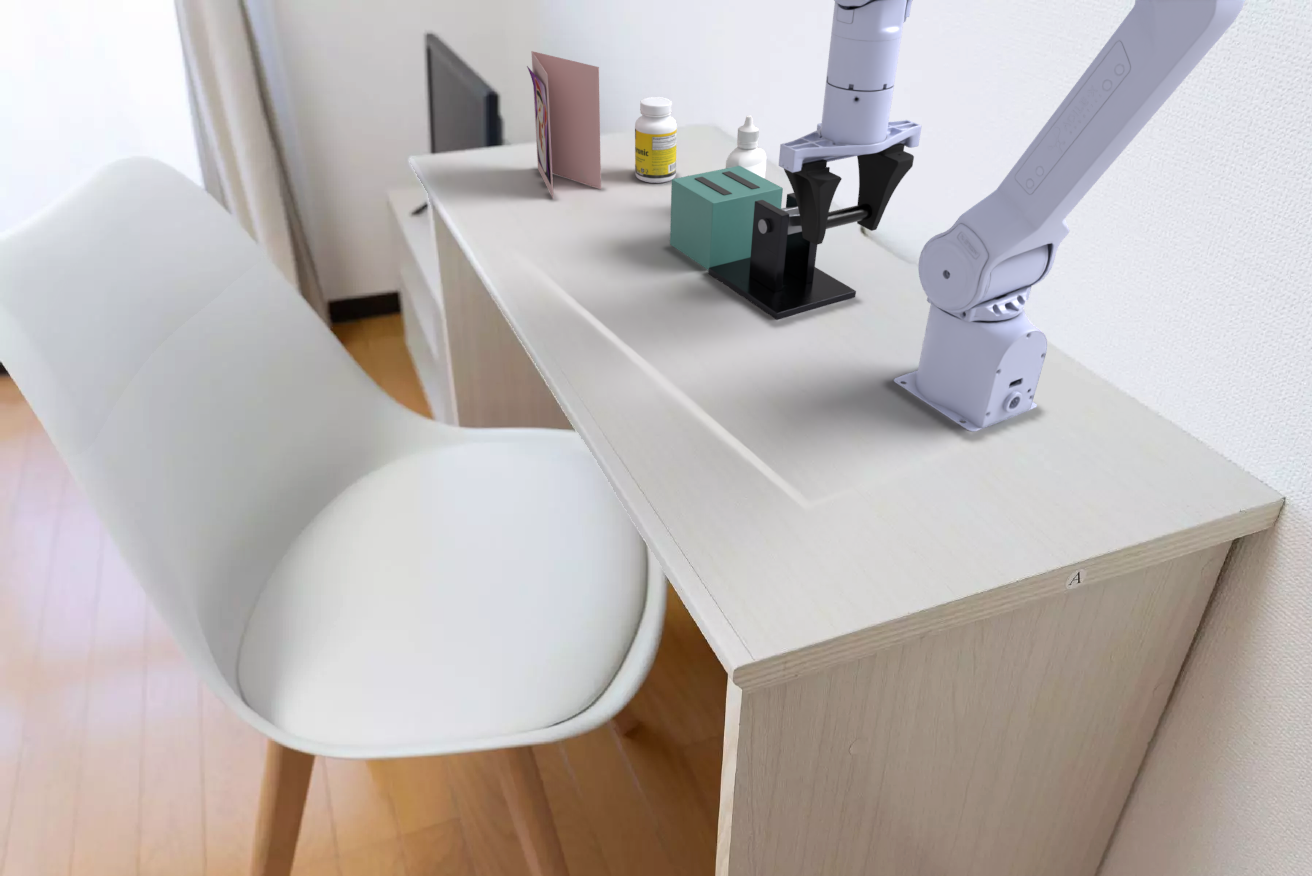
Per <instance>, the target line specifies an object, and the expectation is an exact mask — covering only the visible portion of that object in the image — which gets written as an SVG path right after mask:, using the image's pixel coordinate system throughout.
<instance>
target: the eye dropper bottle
mask: <svg viewBox="0 0 1312 876" xmlns="http://www.w3.org/2000/svg"><path fill="white" fill-rule="evenodd" d="M736 137H737V138H736V147H735V148H734V149H733V150H732V151H731V152H730V153H729V155H728V156H727V158H726V160H725V168H724V169H726V168H731V167H736V166H741V167H743V168H745V169H747V170H749V171H751V172H753V173H755V174H757V175H759V176H761V177H763V178H764V179H766V172H767V171H766V169H767V153H766V151H765V150H764V149H763V148H761V147H760V146H759V139H760V138H759V137H760V128H759V127H757V126H755V125H754V118H753V115H746V116H745V120H744V124H743V125H741V126H739V127H738V128H737V136H736Z"/></svg>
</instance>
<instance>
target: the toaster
mask: <svg viewBox="0 0 1312 876" xmlns="http://www.w3.org/2000/svg"><path fill="white" fill-rule="evenodd" d="M725 168H726V167H725ZM725 168H721V169H716V170H711V171H706V172H701V173H700V172H699V173H696V174H691V175H687V176H686V175H685V176H680V177H674V178H673V179H672V180H671V185H670V186H671V189H670V193H671V194H670V196H671V197H670V226H669V227H670V228H669V229H670V231H669V232H670V233H669V245H670V246H672V247H673V248H675V249H676V250H678V251H679V252H681V253H682V254H684V255H685V256H687V257H688V258H690V259H691V260H692V261H694V262H695V263H697V264H698V265H700V266H701V267H703V268H705V269H706V270H707V271H709V267H713V266H717V265H721V264H725V263H729V262H733V261H737V260H741V259H745V258H749V257H751V245H752V231H753V218H754V205H755V201H758V200H764V201H766V202H768V203H770V204H772V205H774V206H775V207H777V208H779V209H781V208H782V205H783V204H782V203H783V193H784V192H783V191H784V188H783V187H782V186H780V185H778V184H776V183H774V182H773V181H770V180H768V179H767V178H765V179H764V178H763V177H761V176H759V175H757V174H755V173H753V172H751V171H749V170H747V169H745V168H743V167H741V166H736V167H731V168H726V169H725Z"/></svg>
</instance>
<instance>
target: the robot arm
mask: <svg viewBox="0 0 1312 876" xmlns="http://www.w3.org/2000/svg"><path fill="white" fill-rule="evenodd" d="M833 1H834V4H833V5H834V6H833V14H832V23H831V31H830V32H831V33H830V42H829V51H828V59H827V60H828V61H827V67H826V68H827V69H826V70H827V71H826V78H825V86H824V87H825V89H824V97H823V105H822V106H823V107H822V114H821V122H819V123H817V125H816V130H815V131H812V132H810V133H808V134H805V135H804V136H801V137H799V138H797V139H794V140H792V141H788V142H784V143H780V145H779V156H778V167H780V168H782V169H783V171H784V173H785V175H786V177H787V179H788V181H789V183H790V186H791V188H792V191H793V193H794V194H795V197H796V201H797V205H798V209H799V214H800V220H801V227H802V235H803V238H804V239H806V240H808V241H810V242H811V243H813V244H815V245H817V246H818V245H822V244H823V242H824V239H825V236H826V231H827V229H826V226H827V220H828V214H829V212H830V209H831V205H832V201H833V200H834V196H835V193H836V191H837V189H838V187H839V186H840V185H839V184H840V183H841V182H842V180H843V178H842V177H841V176H839V175H837V174H835V173H833V172H832V171H830V169H831V168H830V166H827V165H828V163H829V162H834V161H840V160H844V159H849V158H853V157H856V158H857V166H858V194H857V195H858V197H857V205H861V204H865V203H867V204H869V205H870V206H871V209H872V215H871V217H870V218H869V219H866V220H861V221H857V222H856V224H857V225H858V226H861V227H863V228H865V229H867V230H868V231H871V232H873V231H877V229H878V227H879V225H880V222H881V219H882V218H883V215H884V213H885V211H886V208H887V206H888V205H889V202H890V200H891V198H892V196H893V194H894V193H895V191H896V189H897V187H898V186H899V184H900V183H901V181H902V180H903V179H904V177H905V176H906V175H907V173H908V172H909V171H910V170H911V169H912V168H913V165H914V159H915V156H914V155H913V154H911V153H910V152H906V151H905V147H906V148H911V149H912V148H916V147H919V145H920V138H921V132H922V124H919V123H916V122H914V121H911V120H908V119H903V120H896V121H895V120H894V121H890V115H891V108H892V101H893V94H894V89H895V82H896V75H897V69H898V63H899V55H900V49H901V42H902V36H903V35H902V34H903V29H904V23H906V22H907V18H910V14H911V8H912V3H913V0H833ZM1245 2H1246V0H1134V5H1133V7H1132V9H1130V11H1129V12H1128V13H1127V15H1126V16H1125V17H1124V19H1123V20H1122V21H1121V23H1120V24H1119V25H1118V27H1117V28H1116V29H1115V31H1114V32H1113V34H1112V35H1111V36H1110V37H1109V39H1108V40H1107V42H1106V43H1105V44H1104V45H1103V47H1102V48H1101V49H1100V50H1099V53H1097V54H1096V55H1095V58H1094V59H1093V60H1092V62H1091V63H1090V65H1089V66H1088V67H1087V68H1086V70H1085V71H1084V72H1083V74H1082V75H1081V76H1080V77H1079V79H1078V80H1077V82H1076V83H1075V84H1074V85H1073V87H1072V88H1071V90H1070V91H1069V92H1068V94H1067V95H1066V96H1065V97H1064V99H1063V100H1062V102H1060V104H1059V105H1058V107H1057V108H1056V110H1055V111H1054V112H1053V114H1052V115H1051V116H1050V117H1049V119H1048V120H1047V122H1046V123H1045V124H1044V125H1043V127H1042V128H1041V129H1040V131H1039V132H1038V133H1037V135H1036V136H1035V138H1034V139H1033V140H1032V142H1031V143H1030V144H1029V145H1028V146H1027V148H1026V149H1025V151H1024V152H1023V153H1022V155H1021V156H1020V157H1019V159H1018V160H1017V161H1016V163H1015V164H1014V166H1012V168H1011V169H1010V171H1009V172H1008V173H1007V174H1006V176H1005V177H1004V178H1003V179H1002V181H1001V182H1000V183H999V185H998V187H997V188H996V189H995V190H994V191H993V192H991V193H990V194H988V195H987V196H986V197H984V198H983V199H982V200H980V201H978V202H977V203H975V204H974V205H972V207H970V208H968V209H967V210H966V211H964V213H962V214H961V215H959V217H957V219H956V220H955V222H954V223H953V225H952V226H951V227H950V228H948V229H947V230H945V231H943V232H940V233H938V234H935V235H934V236H932V237H931V238H929V239H928V241H926V243H925V244H924V245H923V247H922V249H921V251H920V255H919V258H918V277H919V282H920V285H921V287H922V290H923V291H924V294H925V295H926V296H927V297H926V302H927V303H929V311H928V314H927V315H928V316H927V321H926V326H925V331H924V336H923V339H922V345H921V351H920V356H919V360H918V361H919V362H918V365H917V366H918V367H917V370H914V371H911V372H908V373H905V374H902V375H900V376H897V377H894V378H893V382H894V383H895V384H897V385H898V386H900V387H901V388H903V389H904V390H906V391H907V392H909V393H910V394H912V395H914V397H917V398H918V399H920V400H921V401H923V402H924V403H925V404H927V405H929V406H930V407H931V408H933V409H935V410H936V411H938V412H940V413H941V414H942V415H944V416H945V417H947V418H948V419H950V420H951V421H953V422H955V423H956V424H957V425H959V426H961V427H962V428H963V429H965V430H966V431H968V432H972V433H975V432H979V431H980V430H983V429H986V428H988V427H990V426H993V425H995V424H998V423H1001V422H1003V421H1006V420H1008V419H1011V418H1014V417H1016V416H1019V415H1021V414H1023V413H1026V412H1029V411H1032V410H1034V409H1036V408H1037V406H1038V405H1037V403H1036V402H1034V398H1035V395H1036V391H1037V388H1038V383H1039V380H1040V376H1041V373H1042V371H1043V366H1044V362H1045V359H1046V355H1047V351H1048V339H1047V336H1046V334H1045V333H1044V332H1043V331H1042V330H1041V329H1040V328H1038V327H1037V326H1036V325H1034V323H1033V322H1031V320H1030V319H1029V317H1028V316H1027V314H1026V311H1025V309H1024V307H1025V304H1026V301H1028V300H1029V298H1030V295H1031V294H1030V293H1031V292H1032V291H1031V290H1032V287H1033V286H1035V285H1037V284H1039V283H1041V282H1042V281H1043V280H1044V279H1045V278H1046V277H1047V276H1048V275H1049V274H1050V272H1051V270H1052V268H1053V266H1054V263H1055V258H1056V254H1057V251H1058V249H1059V247H1060V245H1061V244H1062V242H1063V240H1064V239H1065V238H1067V236H1068V235H1070V234H1069V233H1070V228H1069V225H1068V222H1067V220H1066V218H1067V217H1068V216H1069V214H1070V213H1071V212H1072V211H1073V210H1074V208H1075V207H1077V205H1078V204H1079V203H1080V202H1081V200H1082V199H1083V198H1084V197H1085V196H1086V195H1087V193H1088V192H1089V191H1090V190H1091V189H1092V188H1093V187H1094V185H1095V184H1097V182H1098V181H1099V180H1100V178H1101V177H1103V175H1104V174H1105V172H1107V170H1108V169H1109V168H1110V167H1111V166H1112V164H1113V163H1114V162H1115V161H1116V160H1117V159H1118V157H1119V156H1120V155H1121V154H1122V153H1123V152H1124V151H1125V149H1126V148H1127V147H1128V146H1129V145H1130V143H1132V141H1133V140H1134V139H1135V138H1136V137H1137V135H1138V134H1139V133H1140V132H1141V131H1142V129H1143V128H1144V127H1145V126H1146V125H1147V124H1148V123H1149V122H1150V120H1151V119H1152V118H1153V117H1154V116H1155V114H1157V112H1158V111H1159V110H1160V109H1161V108H1162V106H1164V104H1165V103H1166V102H1167V101H1168V99H1169V98H1170V97H1171V96H1172V95H1173V93H1174V92H1175V91H1176V90H1177V89H1178V87H1180V85H1181V84H1182V83H1183V82H1184V81H1185V79H1186V78H1187V77H1188V76H1189V75H1190V74H1191V72H1193V70H1194V69H1195V68H1196V67H1197V65H1198V64H1199V63H1200V62H1201V61H1202V60H1203V58H1204V57H1205V56H1206V55H1207V54H1208V53H1209V51H1210V50H1211V49H1212V48H1213V47H1214V46H1215V45H1216V44H1217V42H1218V41H1219V40H1220V39H1221V37H1223V35H1224V34H1225V33H1226V32H1227V30H1228V29H1229V28H1230V27H1231V26H1232V25H1233V24H1234V22H1235V20H1236V19H1237V17H1239V15H1240V13H1241V12H1242V10H1243V8H1244V5H1245ZM857 205H856V206H857ZM961 421H962V422H961Z"/></svg>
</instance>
